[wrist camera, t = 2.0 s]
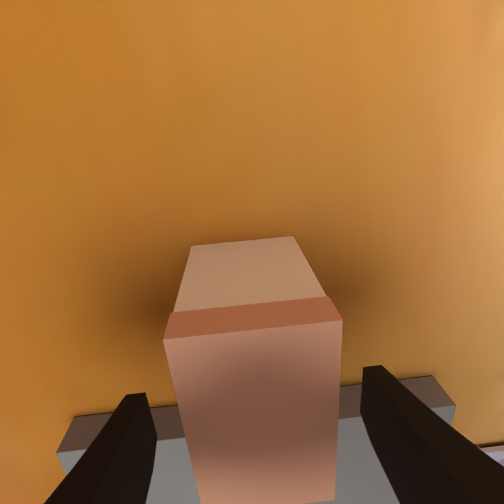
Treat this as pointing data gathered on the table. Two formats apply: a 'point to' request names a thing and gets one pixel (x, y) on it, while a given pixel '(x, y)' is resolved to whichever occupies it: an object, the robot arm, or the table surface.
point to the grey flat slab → (346, 500)
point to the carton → (256, 373)
